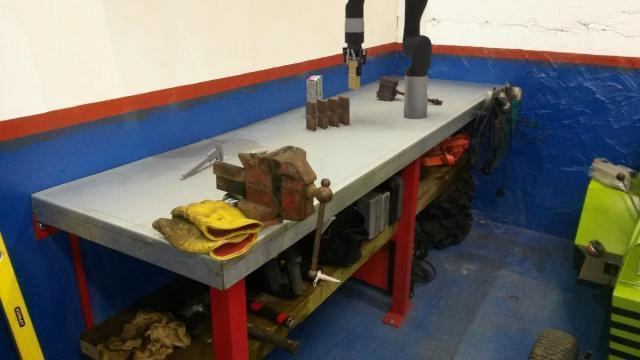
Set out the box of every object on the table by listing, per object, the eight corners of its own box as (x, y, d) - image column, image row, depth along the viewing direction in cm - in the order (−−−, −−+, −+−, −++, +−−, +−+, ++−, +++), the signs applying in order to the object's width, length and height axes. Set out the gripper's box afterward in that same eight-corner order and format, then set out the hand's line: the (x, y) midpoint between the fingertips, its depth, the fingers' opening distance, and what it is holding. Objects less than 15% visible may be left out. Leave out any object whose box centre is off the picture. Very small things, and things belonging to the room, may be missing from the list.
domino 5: (352, 87, 205) (352, 59, 201) (359, 89, 200) (360, 61, 196) (348, 88, 204) (348, 60, 200) (356, 90, 199) (356, 61, 196)
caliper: (221, 160, 164) (219, 141, 162) (223, 160, 164) (222, 142, 162) (179, 180, 147) (177, 160, 145) (182, 181, 147) (180, 160, 144)
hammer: (381, 94, 254) (385, 75, 249) (441, 114, 239) (446, 93, 234) (374, 97, 248) (378, 77, 244) (436, 117, 234) (441, 96, 229)
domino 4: (342, 122, 207) (342, 95, 203) (349, 125, 203) (349, 97, 199) (338, 123, 206) (338, 96, 202) (345, 125, 202) (345, 98, 198)
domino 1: (310, 127, 200) (309, 100, 196) (317, 130, 196) (316, 102, 192) (306, 128, 199) (305, 100, 195) (312, 131, 195) (312, 103, 191)
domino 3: (331, 124, 205) (331, 97, 201) (338, 127, 200) (338, 99, 197) (327, 124, 204) (327, 97, 200) (334, 127, 200) (334, 99, 196)
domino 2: (321, 126, 202) (320, 98, 199) (328, 128, 198) (327, 100, 194) (317, 126, 202) (316, 99, 198) (324, 129, 197) (323, 101, 193)
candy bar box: (312, 112, 226) (311, 75, 220) (323, 112, 225) (322, 75, 219) (306, 118, 215) (305, 79, 210) (318, 118, 214) (317, 79, 209)
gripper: (336, 30, 198) (336, 73, 204) (356, 32, 187) (356, 78, 193) (352, 29, 202) (352, 72, 208) (373, 30, 190) (372, 76, 196)
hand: (354, 74), depth 200 cm, fingers closed on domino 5, 5 cm apart
